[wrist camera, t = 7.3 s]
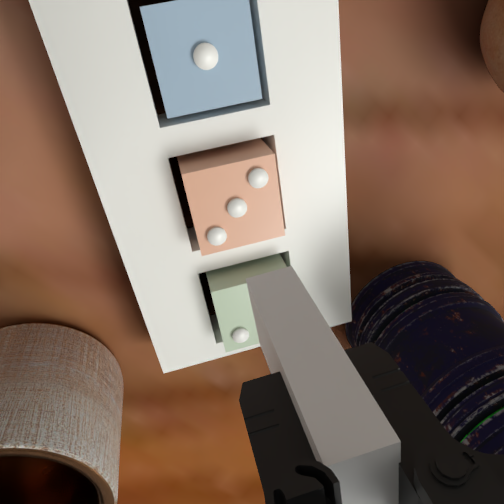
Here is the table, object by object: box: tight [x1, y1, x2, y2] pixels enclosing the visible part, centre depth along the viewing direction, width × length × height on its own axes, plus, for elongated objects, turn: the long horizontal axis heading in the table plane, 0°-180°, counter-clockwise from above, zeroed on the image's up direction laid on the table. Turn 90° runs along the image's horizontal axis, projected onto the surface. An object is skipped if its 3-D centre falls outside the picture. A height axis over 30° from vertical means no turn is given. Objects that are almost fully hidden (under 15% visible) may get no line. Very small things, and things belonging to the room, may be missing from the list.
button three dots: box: [177, 138, 285, 256], centre depth 23 cm, size 5×5×3 cm
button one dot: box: [140, 0, 262, 119], centre depth 21 cm, size 5×5×3 cm
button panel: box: [29, 0, 352, 373], centre depth 25 cm, size 13×22×3 cm, turn 8°
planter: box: [0, 323, 123, 504], centre depth 26 cm, size 11×11×10 cm
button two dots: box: [206, 253, 287, 352], centre depth 27 cm, size 5×5×3 cm
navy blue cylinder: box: [346, 261, 504, 454], centre depth 29 cm, size 10×10×15 cm
